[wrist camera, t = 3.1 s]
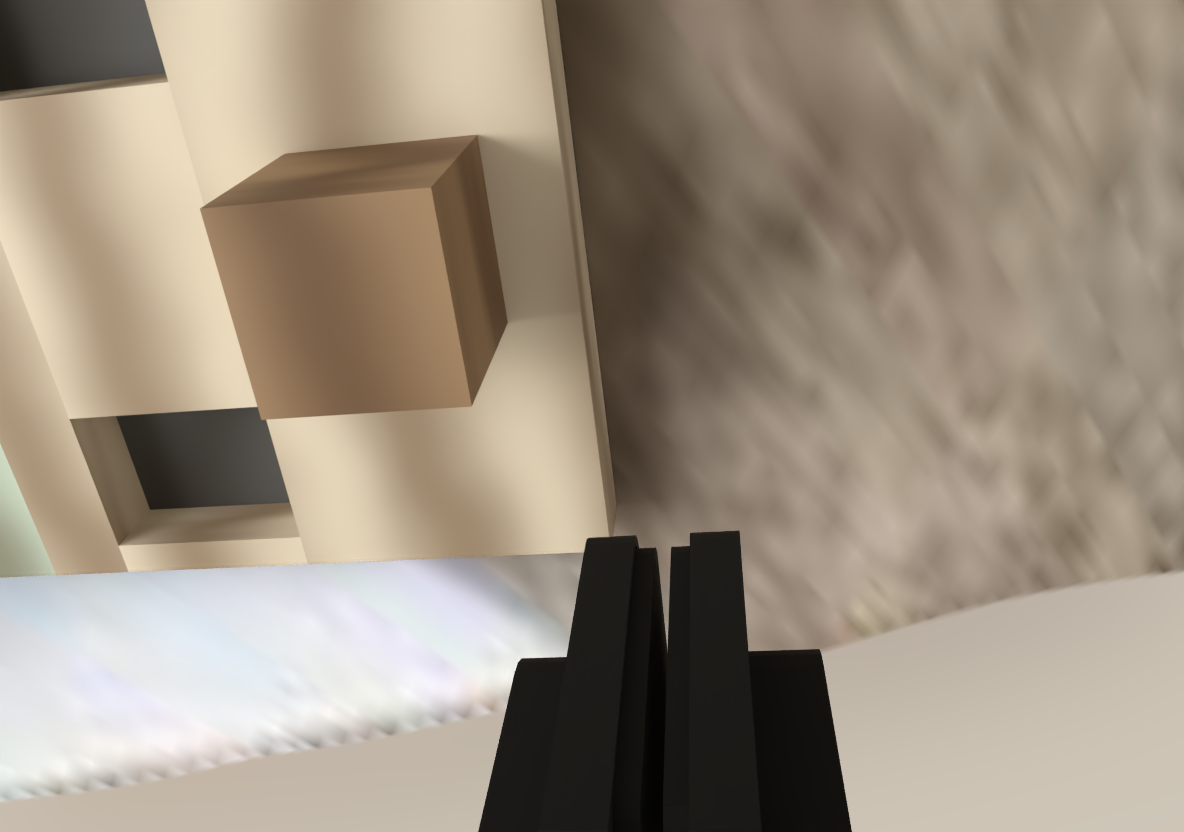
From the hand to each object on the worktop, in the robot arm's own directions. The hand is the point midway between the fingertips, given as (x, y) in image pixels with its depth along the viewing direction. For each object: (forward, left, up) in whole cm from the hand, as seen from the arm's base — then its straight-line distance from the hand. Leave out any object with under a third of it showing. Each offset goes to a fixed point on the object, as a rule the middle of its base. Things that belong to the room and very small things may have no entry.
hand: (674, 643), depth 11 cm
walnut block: (+7, 0, -16) cm, 18 cm away
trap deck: (+14, 0, -19) cm, 24 cm away
